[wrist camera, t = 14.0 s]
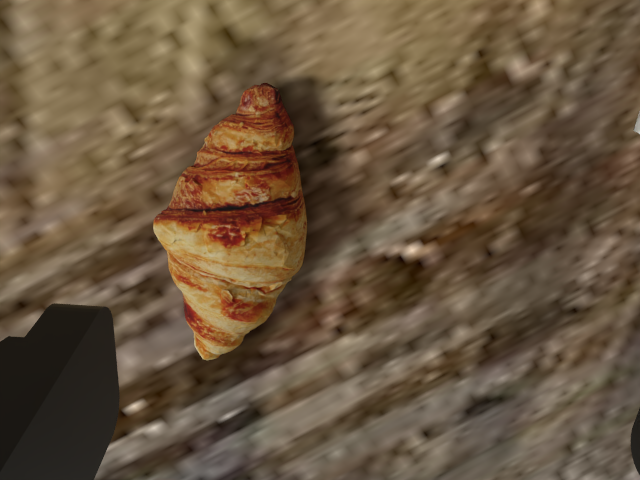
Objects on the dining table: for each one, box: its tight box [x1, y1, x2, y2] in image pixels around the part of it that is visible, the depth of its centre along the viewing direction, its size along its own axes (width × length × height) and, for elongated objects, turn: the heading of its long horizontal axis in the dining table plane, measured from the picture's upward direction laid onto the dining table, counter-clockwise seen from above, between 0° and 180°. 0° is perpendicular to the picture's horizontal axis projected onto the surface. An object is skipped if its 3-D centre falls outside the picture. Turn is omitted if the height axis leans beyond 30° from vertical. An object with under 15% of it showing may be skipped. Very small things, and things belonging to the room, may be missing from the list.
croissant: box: [153, 83, 307, 360], centre depth 41 cm, size 21×10×8 cm, turn 167°
